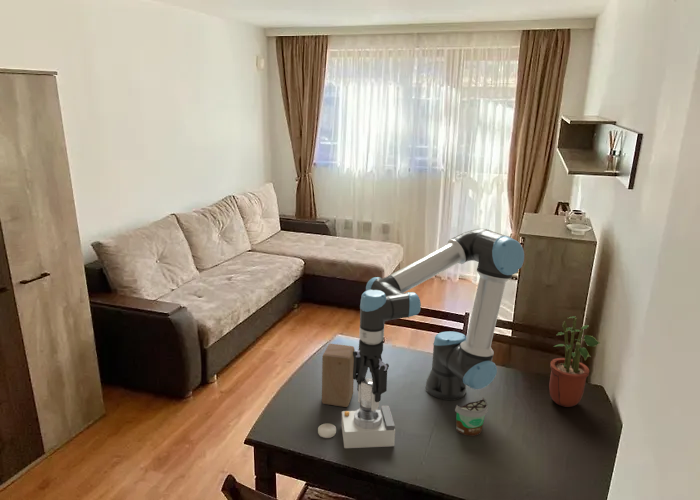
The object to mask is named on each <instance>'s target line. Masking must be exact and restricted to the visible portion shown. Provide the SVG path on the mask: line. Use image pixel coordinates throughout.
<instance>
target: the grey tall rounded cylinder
mask: <svg viewBox="0 0 700 500" xmlns="http://www.w3.org/2000/svg"><path fill="white" fill-rule="evenodd" d="M372 392H374V388H373V381H372V377H371V378H369V377H365V379H363V380H362V381H361V396H360V403H359V409H360V417H361V418H362V419H364V420H372V419H374V418H375V417H376V410H375V411H371V404H372Z"/></svg>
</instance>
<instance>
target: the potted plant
mask: <svg viewBox="0 0 700 500" xmlns="http://www.w3.org/2000/svg"><path fill="white" fill-rule="evenodd" d="M568 319H572V326H571V327H568V325H567V322H566V320H564V321H563V322H562V326H561V327H562V329H563V332H562V331H560V332H559V331H558V332H557V334H556V336H563V335H564V337H563V338H564V343H559V344H556V345H554V346H553V347H564V357H558V358H553V359H552V360H551V361H550V366H549V367H550V369H551V372H550V376H549V377H550V378H549V384H548V386H549V389H548V390H549V395H550V398H551V400H552V401H553V402H554V403H555V404H557V405H559V406H560V407H565V408H571V407H574V406H576V405H578V404H579V403H580V402H581V399H582V397H583V395H584V391H585V387H586V382H587V381H586V380H587V378H588V377H589V375H590V369H589V367H588V366H587V365H586V364H585V363H583V362H581V361H580V360H581V359H580V358H581V356H582V357H583V359H584V361H586V360H587V359H588V358H589V357H590V358H592V356H591V355H590V354H589V352H588V350H587V348H586V347H581V345H582V344H581V342H582V341H584V342H585V343H586V345H587V347H588V346H589V347H597V346H598V345H599V344H601V342H599V340H597V339H596V337H594V336H593V335H588V334H584V332H585V331H584V330H586V329H587V328H589V325H588V324H586V325H582V327H581V328H580V329H581V330H580V329H576V326H577V317H576V315H575V316H574V315H573V316H570V317H568ZM568 331H570V332H571V335H570V342H569V335H568ZM575 332H579V335H578V338H577V339H576V338H575V334H576V333H575ZM583 334H584V335H583ZM581 340H582V341H581ZM575 341H576V342H575ZM574 342H575V348H574ZM569 343H570V344H569ZM573 348H574V352H573Z"/></svg>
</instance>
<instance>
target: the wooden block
mask: <svg viewBox="0 0 700 500" xmlns="http://www.w3.org/2000/svg"><path fill="white" fill-rule="evenodd" d="M354 351H356V350H355V347H354V346H352V345H345V344H344V345H343V344H338V343H337V344H336V343H329V344H328V345H327V347H326V349H325V350H324V352H323V354H322V358H321V360H322V361H321V363H322V364H321V384H322V385H321V403H322V404H323V405H329V406H334V407H335V406H336V407H344V408H347V407H349V405H350V403H351V400H352V397H353V394H354V379H353V364H354V357H353V352H354Z"/></svg>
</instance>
